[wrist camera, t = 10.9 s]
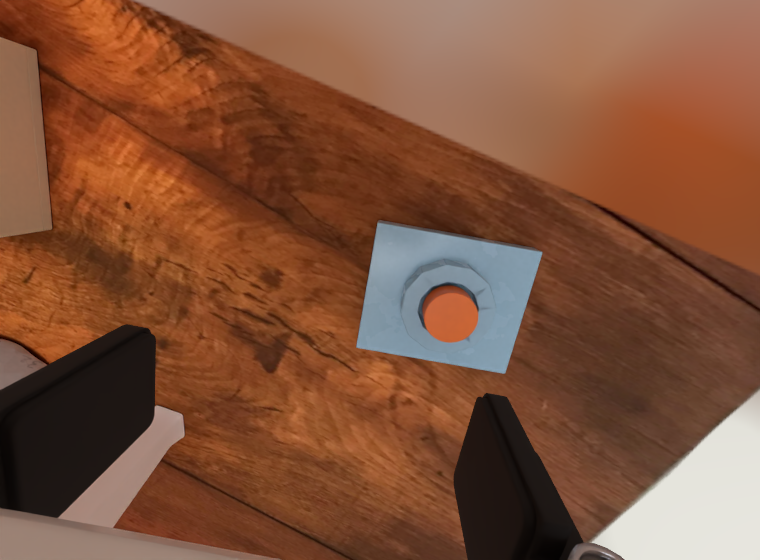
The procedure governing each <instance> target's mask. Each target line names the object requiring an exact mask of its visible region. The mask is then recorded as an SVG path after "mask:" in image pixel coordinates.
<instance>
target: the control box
mask: <svg viewBox="0 0 760 560" xmlns="http://www.w3.org/2000/svg"><path fill="white" fill-rule="evenodd" d="M541 256H542V252H541V251H539V250H537V249H535V248H533V247H527V246H522V245H516V244H510V243H505V242H499V241H494V240H488V239H483V238H477V237H472V236H466V235H460V234H455V233H449V232H444V231H438V230H433V229H427V228H422V227H416V226H410V225H405V224H399V223H394V222H388V221H383V220H378V223H377V228H376V234H375V240H374V246H373V252H372V258H371V263H370V269H369V275H368V281H367V287H366V293H365V298H364V304H363V310H362V316H361V322H360V328H359V334H358V339H357V345H356V347H357V348H361V349H367V350H373V351H379V352H384V353H390V354H396V355H401V356H407V357H413V358H418V359H424V360H430V361H435V362H441V363H447V364H452V365H458V366H464V367H469V368H475V369H481V370H486V371H492V372H498V373H503V374H505V372H506V369H507V366H508V362H509V359H510V356H511V353H512V349H513V346H514V343H515V340H516V337H517V333H518V330H519V327H520V324H521V320H522V317H523V314H524V311H525V308H526V304H527V301H528V298H529V295H530V291H531V288H532V285H533V282H534V279H535V275H536V272H537V269H538V266H539V262H540V259H541ZM445 285H452V286H457V287H459V288H461V289H463V290H464V291H466V292H467V293H468V295H469V296H470V297H471V299H472V301H473V302H474V304H475V305H476V307H477V310H478V323H477V326H476V328H475V330H474V331H473V332H472V333H471V335H469V336H468V337H467V338H465V339H463V340H461V341H458V342H453V343H448V342H442V341H439V340H437V339H435V338H434V337H433V336H432V335H431V334H430V333H429V332H428V330H427V329H426V326H425V323H424V318H423V313H422V307H423V303H424V300H425V298H426V297H427V295H428V294H429V293H430V292H431V291H433V290H434V289H436V288H438V287H441V286H445Z"/></svg>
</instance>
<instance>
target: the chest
mask: <svg viewBox="0 0 760 560" xmlns="http://www.w3.org/2000/svg"><path fill="white" fill-rule="evenodd" d="M51 229H52V218H51V206H50V195H49V184H48V172H47V161H46V150H45V138H44V127H43V116H42V104H41V93H40V82H39V70H38V59H37V51H36V50H35V49H32V48H29V47H27V46H24V45H21V44H18V43H16V42H13V41H10V40H7V39H4V38H2V37H0V237H7V236H13V235H20V234H27V233H33V232H40V231H45V230H51Z"/></svg>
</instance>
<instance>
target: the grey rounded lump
mask: <svg viewBox="0 0 760 560" xmlns="http://www.w3.org/2000/svg"><path fill="white" fill-rule="evenodd" d="M45 366H47V364H45V363H44V362H42V361H40V360H39V359H37V358H36V357H34V356H33V355H32V354H30V353H29V352H28V351H27V350H25V349H24V348H23V347H22V346H20V345H18V344H16V343H13V342H11V341H8V340H3V339H0V390H1V389H3V388H5V387H7V386H9V385H11V384H12V383H14V382H16V381H18V380H20V379H22V378H24V377H26V376H28V375H30V374H32V373H33V372H35V371H37V370H39V369H41V368H43V367H45Z"/></svg>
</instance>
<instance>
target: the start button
mask: <svg viewBox="0 0 760 560" xmlns="http://www.w3.org/2000/svg"><path fill="white" fill-rule="evenodd" d="M422 313H423V318H424V323H425V326H426V329H427V330H428V332H429V333H430V334H431V335H432V336H433V337H434V338H435V339H437V340H439V341H442V342H448V343H453V342H458V341H461V340H463V339H465V338H467V337H468V336H469V335H471V333H472V332H473V331H474V330H475V328H476V326H477V323H478V310H477V307H476V305H475V304H474V302H473V301H472V299H471V297H470V296H469V295H468V293H467V292H466V291H464V290H463V289H461V288H459V287H457V286H452V285H445V286H441V287H438V288H436V289H434V290H433V291H431V292H430V293H429V294H428V295H427V297H426V298H425V300H424V303H423V307H422Z"/></svg>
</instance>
